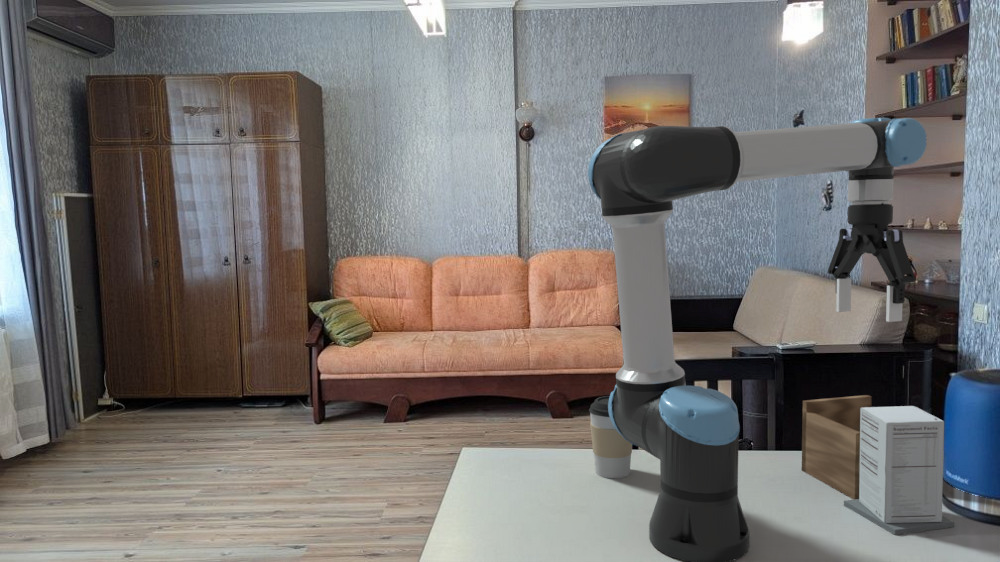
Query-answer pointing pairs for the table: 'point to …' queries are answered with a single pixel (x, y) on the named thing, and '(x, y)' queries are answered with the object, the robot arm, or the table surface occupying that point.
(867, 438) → the supplement box
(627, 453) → the coffee cup
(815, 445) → the walnut bay
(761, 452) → the table surface
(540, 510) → the table surface
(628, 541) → the table surface
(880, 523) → the rubber mat
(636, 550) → the table surface
